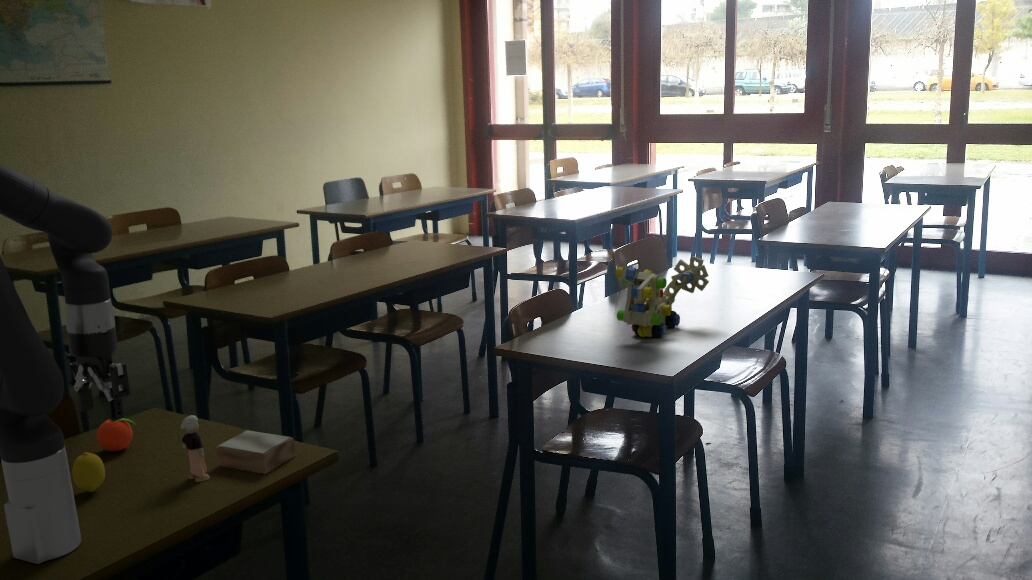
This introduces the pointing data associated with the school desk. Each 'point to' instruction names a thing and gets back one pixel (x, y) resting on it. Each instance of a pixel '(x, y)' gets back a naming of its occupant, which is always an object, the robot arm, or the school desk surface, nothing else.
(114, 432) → the clementine
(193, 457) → the grandmother figurine
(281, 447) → the plinth
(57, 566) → the school desk surface
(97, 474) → the lemon
